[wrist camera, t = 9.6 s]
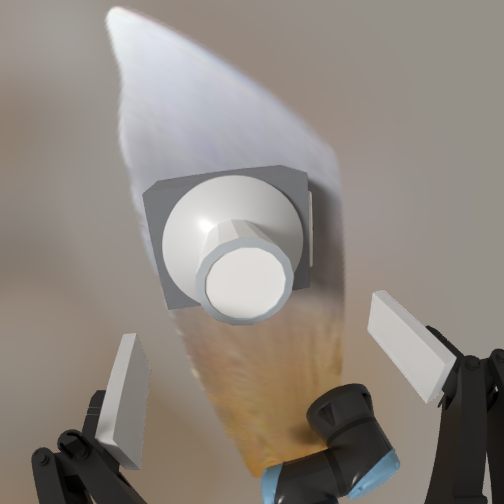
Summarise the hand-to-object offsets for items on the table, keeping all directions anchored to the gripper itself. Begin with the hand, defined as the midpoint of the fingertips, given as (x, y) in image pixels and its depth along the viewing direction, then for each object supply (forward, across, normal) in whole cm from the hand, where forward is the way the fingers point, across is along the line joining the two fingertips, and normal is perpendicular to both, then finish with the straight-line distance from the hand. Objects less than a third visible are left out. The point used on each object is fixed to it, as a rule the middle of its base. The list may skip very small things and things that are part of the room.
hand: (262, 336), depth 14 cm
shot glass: (+12, 0, 0) cm, 12 cm away
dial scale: (+22, 0, -1) cm, 22 cm away
